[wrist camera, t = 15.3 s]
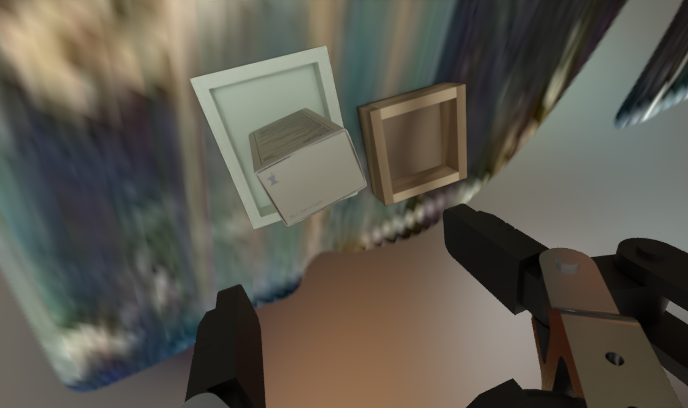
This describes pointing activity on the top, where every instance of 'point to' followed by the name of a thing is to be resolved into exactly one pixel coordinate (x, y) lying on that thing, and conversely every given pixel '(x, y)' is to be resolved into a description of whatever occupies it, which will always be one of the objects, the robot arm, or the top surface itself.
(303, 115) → the skincare box
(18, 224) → the top surface
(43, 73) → the top surface
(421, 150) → the wooden square box
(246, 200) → the tray
